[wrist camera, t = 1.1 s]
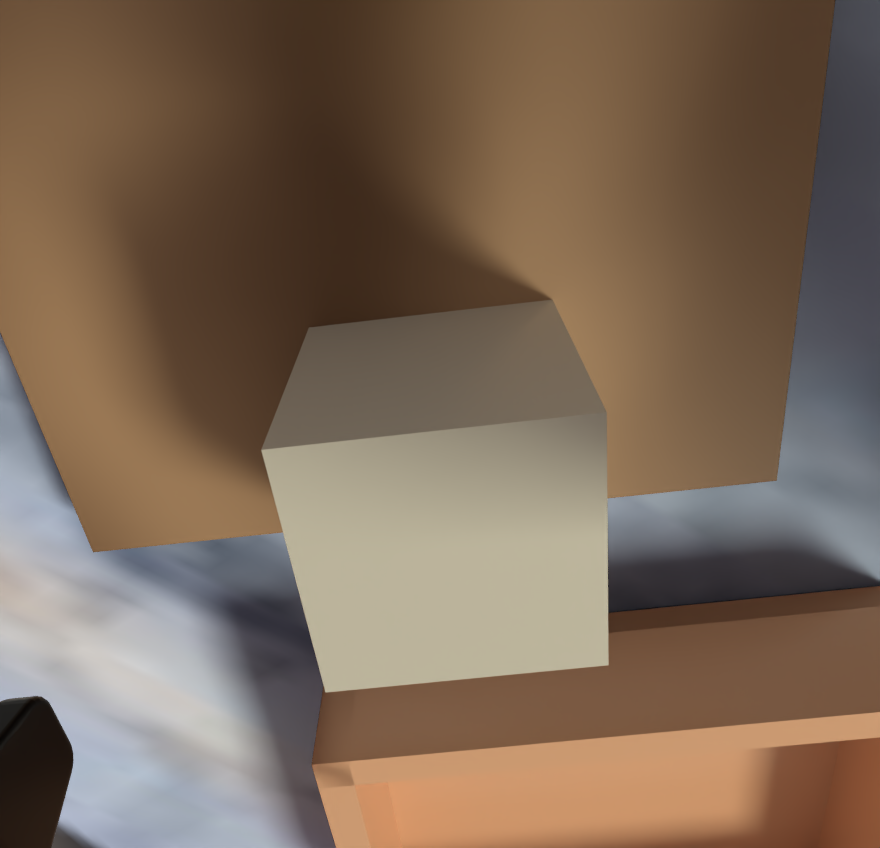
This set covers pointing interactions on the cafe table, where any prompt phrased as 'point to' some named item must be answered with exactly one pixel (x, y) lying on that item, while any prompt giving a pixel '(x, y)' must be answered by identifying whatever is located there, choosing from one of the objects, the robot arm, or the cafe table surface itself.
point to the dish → (630, 740)
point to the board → (395, 221)
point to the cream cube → (444, 497)
